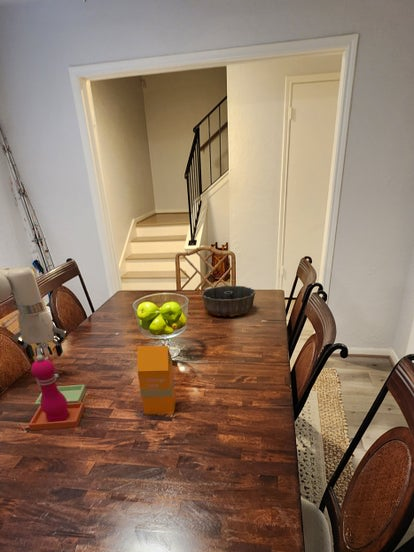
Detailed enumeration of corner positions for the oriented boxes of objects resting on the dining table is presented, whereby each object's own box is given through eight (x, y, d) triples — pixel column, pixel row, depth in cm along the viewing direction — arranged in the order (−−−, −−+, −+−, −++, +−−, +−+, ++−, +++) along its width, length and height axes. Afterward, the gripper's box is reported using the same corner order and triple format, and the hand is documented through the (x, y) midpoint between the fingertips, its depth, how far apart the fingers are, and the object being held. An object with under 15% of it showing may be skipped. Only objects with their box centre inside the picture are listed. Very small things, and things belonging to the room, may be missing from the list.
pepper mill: (64, 407, 113) (46, 347, 103) (75, 416, 109) (57, 354, 98) (41, 417, 109) (20, 355, 99) (51, 427, 105) (31, 363, 94)
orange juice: (148, 400, 116) (139, 341, 105) (176, 400, 115) (170, 340, 105) (144, 414, 109) (133, 352, 99) (173, 414, 109) (166, 351, 98)
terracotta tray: (30, 430, 105) (28, 424, 104) (41, 410, 113) (39, 405, 112) (77, 427, 105) (75, 421, 104) (85, 407, 114) (83, 402, 113)
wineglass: (46, 382, 129) (37, 350, 123) (40, 377, 133) (31, 346, 127) (62, 376, 132) (54, 345, 126) (56, 371, 136) (47, 341, 130)
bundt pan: (200, 305, 196) (199, 286, 191) (249, 302, 198) (249, 283, 193) (205, 322, 174) (204, 301, 168) (260, 318, 175) (261, 297, 170)
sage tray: (36, 409, 114) (34, 403, 113) (46, 392, 123) (44, 387, 122) (79, 405, 115) (77, 400, 114) (86, 389, 124) (84, 384, 123)
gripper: (-1, 313, 116) (17, 362, 125) (55, 309, 117) (68, 358, 126) (8, 306, 123) (24, 353, 132) (61, 302, 123) (73, 349, 132)
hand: (46, 356), depth 129 cm, fingers open, 9 cm apart
